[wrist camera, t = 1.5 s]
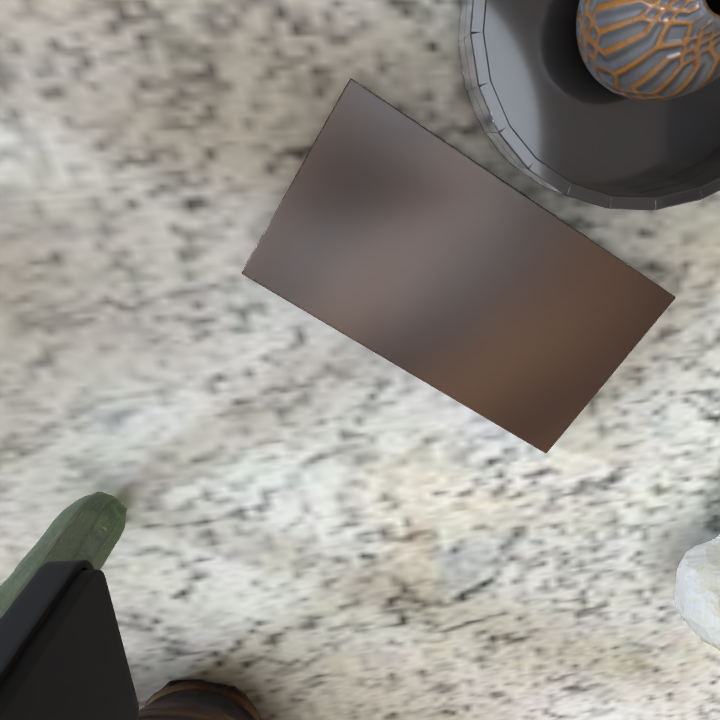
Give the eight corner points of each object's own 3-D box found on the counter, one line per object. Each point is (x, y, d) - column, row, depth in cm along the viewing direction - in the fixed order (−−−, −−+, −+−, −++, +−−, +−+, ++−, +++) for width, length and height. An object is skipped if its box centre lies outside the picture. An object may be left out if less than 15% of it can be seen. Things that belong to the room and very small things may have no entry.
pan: (394, 84, 31) (397, 79, 27) (607, -280, 26) (647, -348, 22) (648, 258, 34) (682, 275, 30) (885, -41, 29) (962, -65, 25)
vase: (587, -80, 28) (676, -162, 20) (733, -43, 29) (878, -109, 20) (539, 85, 31) (601, 72, 22) (674, 117, 31) (783, 115, 23)
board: (246, 267, 34) (241, 273, 33) (351, 79, 31) (350, 77, 29) (539, 441, 38) (546, 454, 36) (663, 290, 34) (676, 297, 33)
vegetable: (78, 462, 39) (-194, 779, 20) (148, 462, 39) (-60, 779, 20) (91, 523, 40) (-151, 869, 22) (158, 522, 40) (-27, 869, 22)
